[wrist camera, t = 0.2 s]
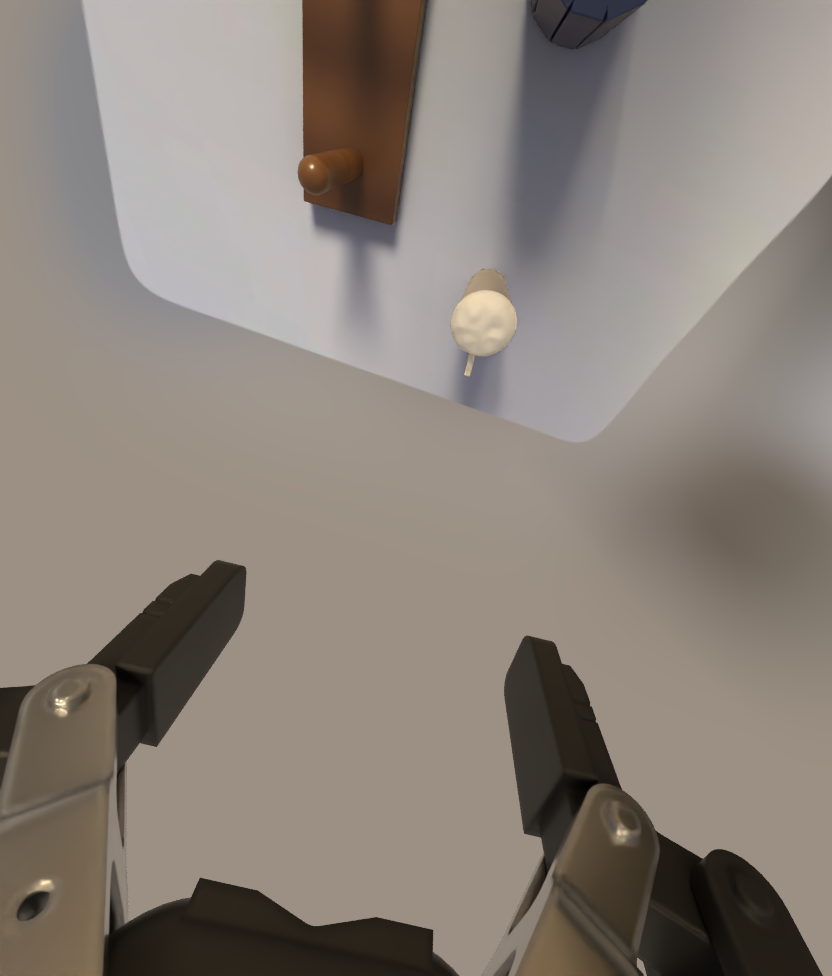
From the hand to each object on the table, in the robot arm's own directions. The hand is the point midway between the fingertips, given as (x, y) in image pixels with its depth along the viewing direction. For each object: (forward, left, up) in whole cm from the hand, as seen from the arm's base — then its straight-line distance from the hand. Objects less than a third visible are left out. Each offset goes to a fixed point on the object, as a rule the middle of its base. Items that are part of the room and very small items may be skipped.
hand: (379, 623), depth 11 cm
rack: (-15, 0, -31) cm, 35 cm away
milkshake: (+2, +1, -31) cm, 32 cm away
